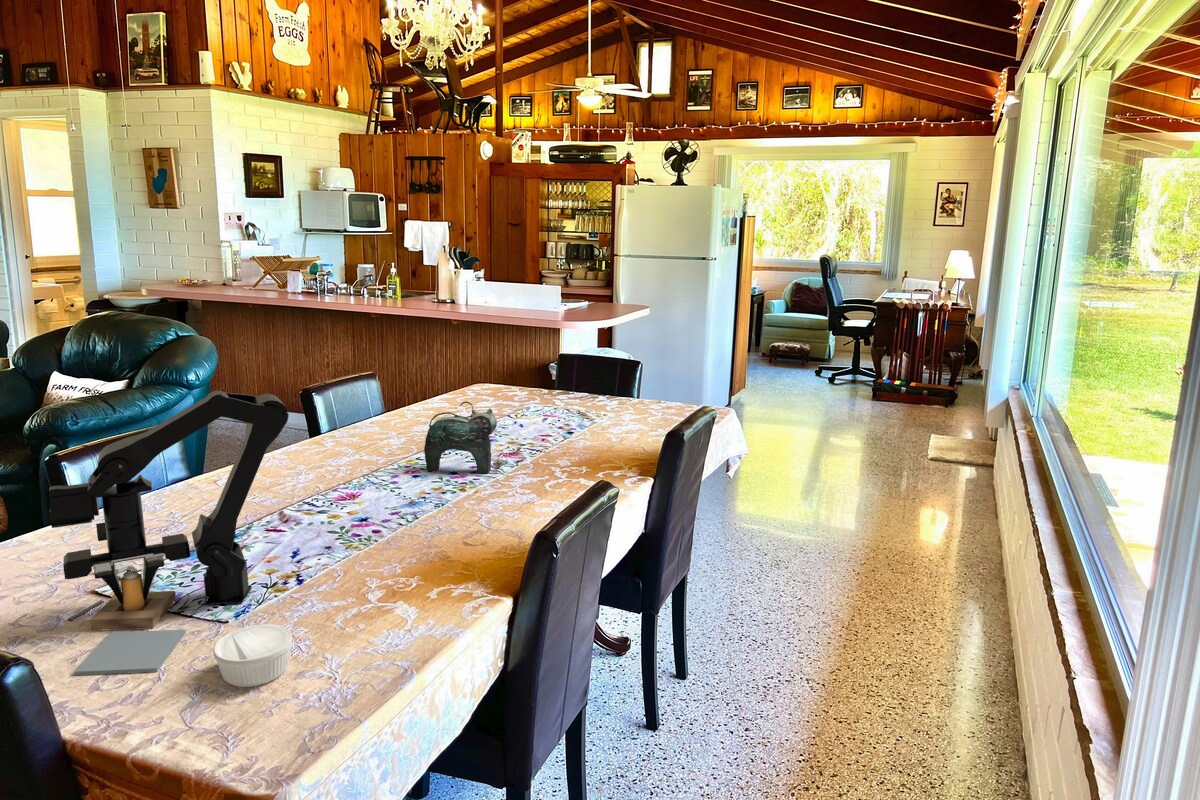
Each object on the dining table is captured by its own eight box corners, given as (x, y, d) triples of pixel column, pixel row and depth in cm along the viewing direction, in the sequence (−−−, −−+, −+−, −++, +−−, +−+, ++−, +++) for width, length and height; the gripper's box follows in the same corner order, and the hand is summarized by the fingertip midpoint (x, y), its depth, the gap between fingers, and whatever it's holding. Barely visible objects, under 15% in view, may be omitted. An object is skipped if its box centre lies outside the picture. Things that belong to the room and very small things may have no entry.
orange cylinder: (148, 610, 145) (144, 569, 143) (141, 619, 142) (136, 577, 140) (129, 611, 144) (124, 569, 142) (121, 619, 141) (116, 577, 139)
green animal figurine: (497, 469, 228) (497, 400, 223) (492, 476, 222) (492, 405, 217) (429, 465, 230) (427, 397, 225) (421, 472, 224) (420, 402, 219)
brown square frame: (176, 600, 148) (175, 590, 148) (153, 628, 139) (152, 617, 138) (118, 602, 147) (116, 592, 147) (91, 630, 138) (89, 619, 137)
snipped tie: (100, 602, 147) (100, 600, 147) (104, 602, 147) (104, 600, 147) (67, 620, 141) (67, 618, 140) (71, 621, 140) (71, 619, 140)
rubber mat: (185, 632, 138) (185, 629, 137) (157, 671, 126) (156, 668, 126) (110, 635, 136) (110, 632, 136) (74, 675, 124) (74, 671, 124)
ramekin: (199, 682, 124) (196, 651, 122) (254, 647, 134) (251, 618, 133) (257, 699, 120) (254, 667, 119) (308, 661, 130) (307, 631, 129)
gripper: (180, 494, 150) (187, 571, 154) (60, 511, 141) (71, 594, 144) (186, 513, 141) (194, 595, 145) (58, 533, 131) (70, 620, 135)
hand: (133, 600), depth 142 cm, fingers closed on orange cylinder, 3 cm apart
